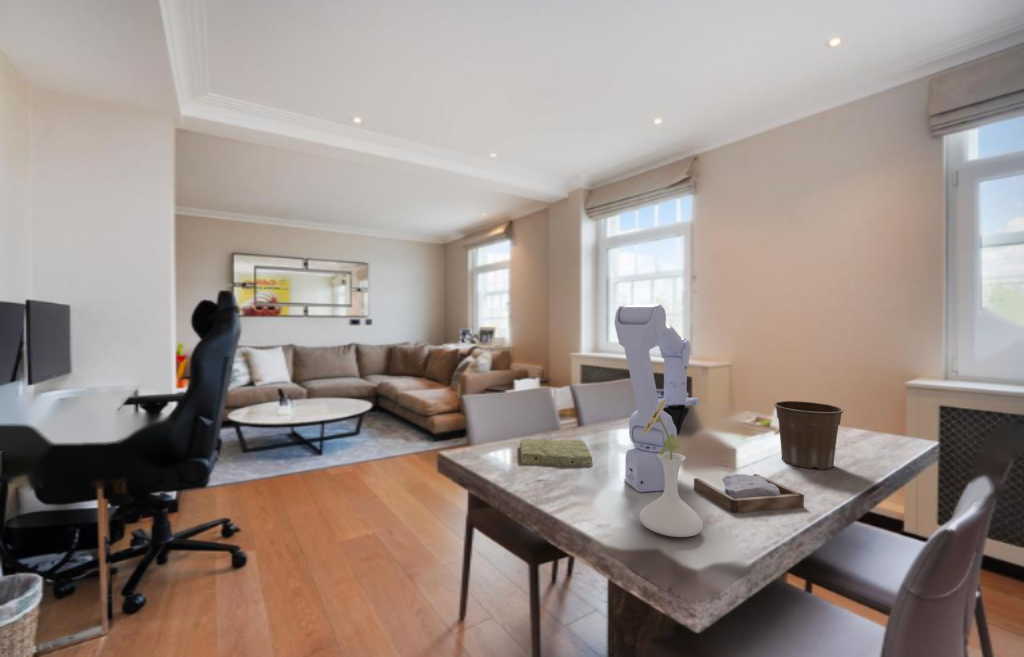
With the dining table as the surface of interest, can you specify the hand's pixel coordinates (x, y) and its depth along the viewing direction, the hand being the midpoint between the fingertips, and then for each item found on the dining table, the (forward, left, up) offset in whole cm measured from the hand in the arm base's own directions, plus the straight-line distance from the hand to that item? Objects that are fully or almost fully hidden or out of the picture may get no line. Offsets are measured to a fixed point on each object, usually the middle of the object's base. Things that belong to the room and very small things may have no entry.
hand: (674, 433), depth 119 cm
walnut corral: (+5, -21, -9) cm, 23 cm away
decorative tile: (-28, +17, -10) cm, 34 cm away
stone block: (+6, -20, -10) cm, 23 cm away
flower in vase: (-21, -32, -10) cm, 39 cm away
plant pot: (+40, -2, -10) cm, 41 cm away
